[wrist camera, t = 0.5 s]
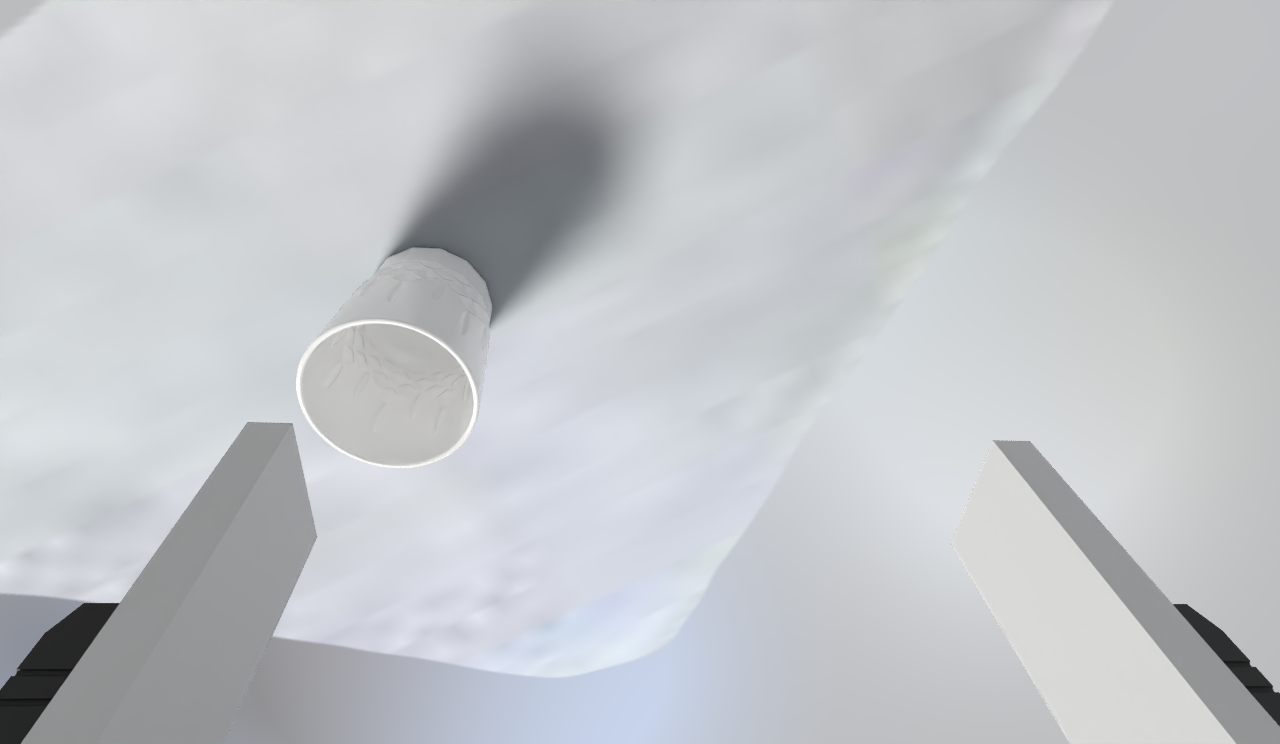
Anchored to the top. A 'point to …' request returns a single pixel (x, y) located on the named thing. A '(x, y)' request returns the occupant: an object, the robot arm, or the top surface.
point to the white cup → (401, 362)
